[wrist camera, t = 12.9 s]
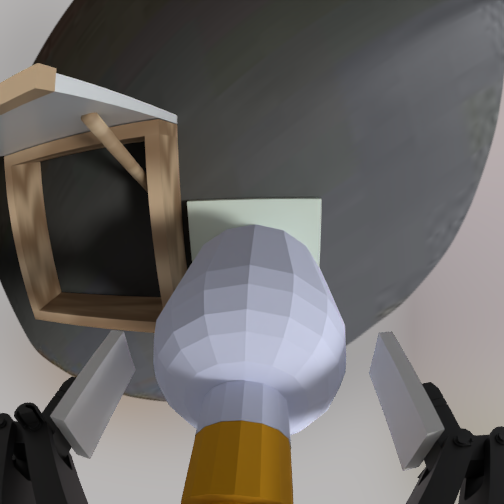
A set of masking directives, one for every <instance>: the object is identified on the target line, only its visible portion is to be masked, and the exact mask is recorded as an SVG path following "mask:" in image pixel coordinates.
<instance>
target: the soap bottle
mask: <svg viewBox="0 0 504 504" xmlns="http://www.w3.org/2000/svg"><path fill="white" fill-rule="evenodd" d="M153 366H154V371H155V375H156V380H157V383H158V385H159V387H160V389H161V391H162V393H163V395H164V397H165V398H166V400H167V402H168V404H169V405H170V406H171V407H172V408H173V409H174V410H175V411H176V412H177V413H178V414H179V415H180V416H181V417H183V418H184V419H185V420H186V421H187V422H188V423H190V424H191V425H192V426H193V427H194V428H196V429H197V430H196V435H195V441H194V446H193V450H192V455H191V459H190V464H189V468H188V472H187V477H186V481H185V487H184V491H183V495H182V500H181V504H293V486H292V467H291V442H290V435H292V434H295V433H298V432H300V431H301V430H303V429H304V428H305V427H307V426H308V425H309V424H311V423H312V422H313V421H315V420H316V419H317V418H318V417H320V416H321V415H322V414H323V413H324V412H326V411H327V410H328V408H329V406H330V404H331V402H332V401H333V399H334V397H335V395H336V393H337V391H338V389H339V387H340V385H341V382H342V380H343V377H344V374H345V369H346V339H345V325H344V322H343V320H342V317H341V315H340V313H339V310H338V308H337V306H336V304H335V301H334V299H333V297H332V294H331V292H330V290H329V288H328V285H327V283H326V281H325V279H324V277H323V274H322V272H321V270H320V268H319V266H318V265H317V263H316V261H315V260H314V258H313V256H312V255H311V253H310V251H309V250H308V248H307V247H306V246H305V245H304V244H302V243H301V242H300V241H298V240H297V239H295V238H294V237H292V236H291V235H290V234H288V233H287V232H285V231H284V230H280V229H275V228H270V227H266V226H261V225H256V224H254V225H248V226H242V227H237V228H231V229H227V230H225V231H223V232H222V233H220V234H219V235H217V236H216V237H214V238H213V239H211V240H210V241H208V242H207V243H205V244H204V245H203V246H202V248H201V250H200V251H199V253H198V254H197V256H196V257H195V259H194V260H193V262H192V264H191V265H190V267H189V268H188V270H187V271H186V273H185V275H184V276H183V278H182V279H181V281H180V283H179V284H178V286H177V287H176V289H175V291H174V292H173V294H172V295H171V297H170V299H169V300H168V302H167V304H166V305H165V307H164V309H163V310H162V312H161V314H160V315H159V317H158V319H157V320H156V326H155V334H154V359H153Z"/></svg>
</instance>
